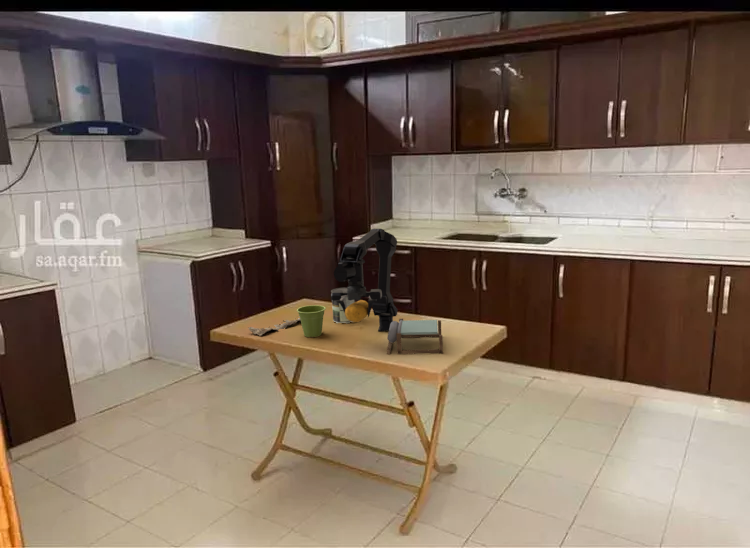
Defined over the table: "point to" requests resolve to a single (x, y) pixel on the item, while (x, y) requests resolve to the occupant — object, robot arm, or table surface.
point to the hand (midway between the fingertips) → (357, 316)
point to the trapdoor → (411, 328)
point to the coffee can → (340, 309)
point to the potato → (357, 311)
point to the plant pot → (311, 319)
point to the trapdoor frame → (399, 336)
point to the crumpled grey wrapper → (282, 326)
